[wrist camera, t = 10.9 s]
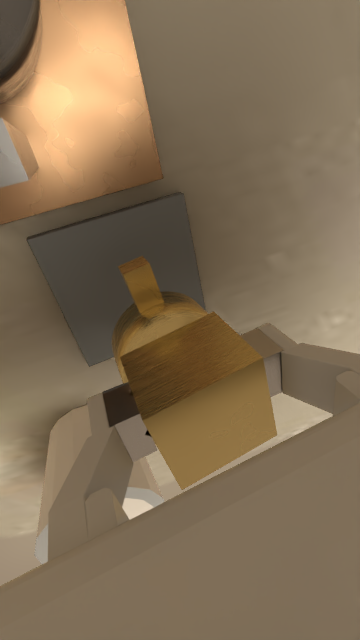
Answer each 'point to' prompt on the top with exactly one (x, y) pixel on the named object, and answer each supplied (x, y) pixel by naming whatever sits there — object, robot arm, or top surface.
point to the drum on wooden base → (70, 106)
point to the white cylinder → (60, 460)
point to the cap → (190, 378)
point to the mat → (115, 266)
